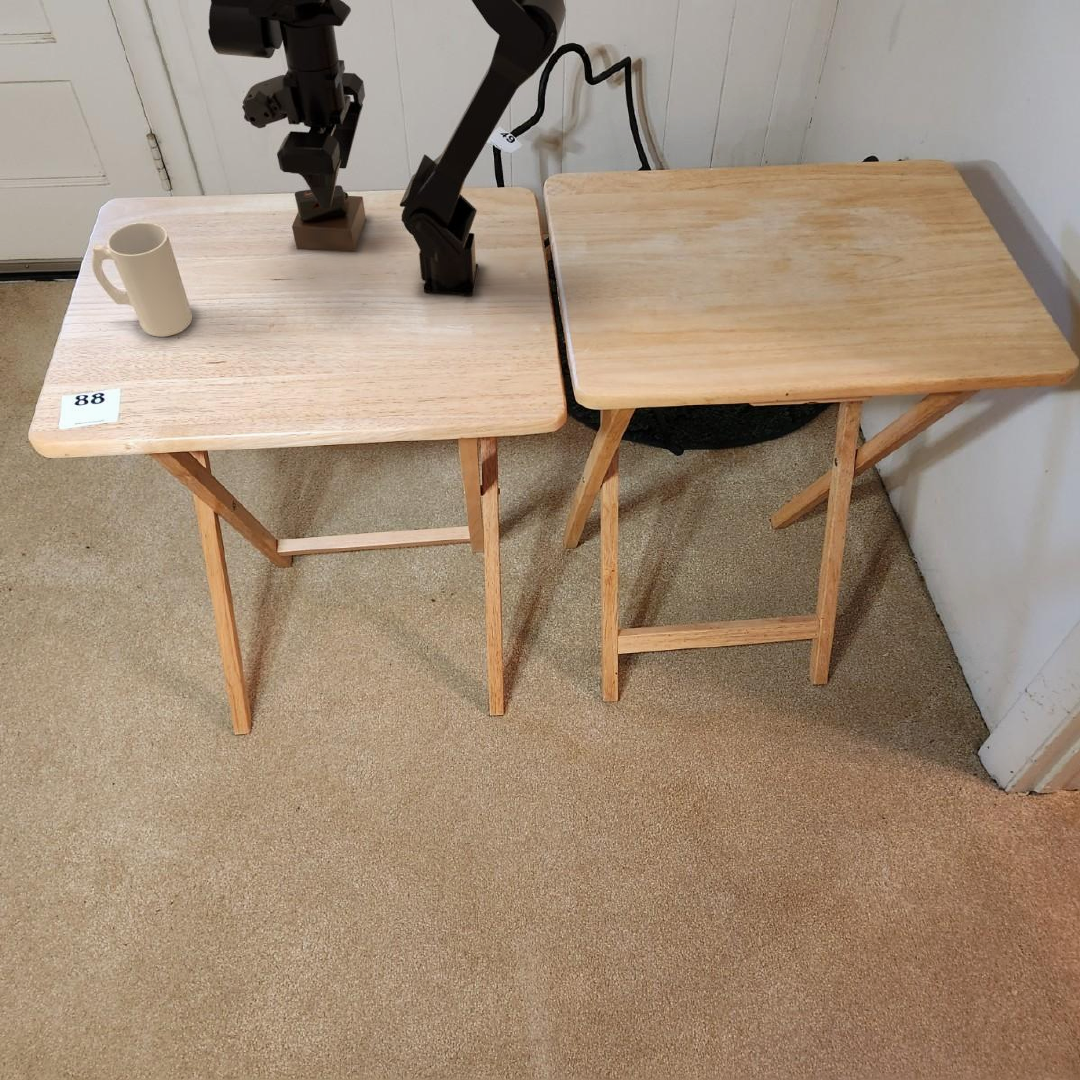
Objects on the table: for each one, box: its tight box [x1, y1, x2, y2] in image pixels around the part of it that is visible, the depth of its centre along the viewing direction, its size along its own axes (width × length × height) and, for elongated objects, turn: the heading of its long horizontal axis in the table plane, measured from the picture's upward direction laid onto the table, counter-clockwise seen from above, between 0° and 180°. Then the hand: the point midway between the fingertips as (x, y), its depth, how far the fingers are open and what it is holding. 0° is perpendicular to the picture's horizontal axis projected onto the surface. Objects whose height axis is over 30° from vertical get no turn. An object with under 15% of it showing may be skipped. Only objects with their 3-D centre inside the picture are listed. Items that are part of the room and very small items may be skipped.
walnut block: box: [291, 195, 367, 253], centre depth 133 cm, size 8×8×4 cm
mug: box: [91, 221, 193, 338], centre depth 118 cm, size 10×7×12 cm, turn 89°
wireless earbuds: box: [294, 184, 349, 222], centre depth 131 cm, size 5×7×3 cm, turn 107°
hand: (334, 187), depth 120 cm, fingers open, 9 cm apart
